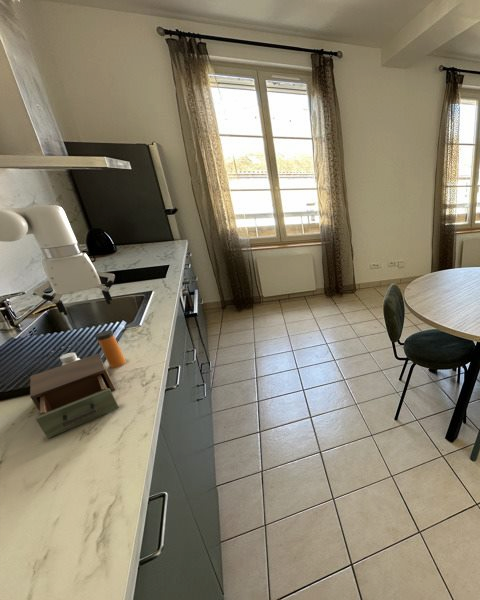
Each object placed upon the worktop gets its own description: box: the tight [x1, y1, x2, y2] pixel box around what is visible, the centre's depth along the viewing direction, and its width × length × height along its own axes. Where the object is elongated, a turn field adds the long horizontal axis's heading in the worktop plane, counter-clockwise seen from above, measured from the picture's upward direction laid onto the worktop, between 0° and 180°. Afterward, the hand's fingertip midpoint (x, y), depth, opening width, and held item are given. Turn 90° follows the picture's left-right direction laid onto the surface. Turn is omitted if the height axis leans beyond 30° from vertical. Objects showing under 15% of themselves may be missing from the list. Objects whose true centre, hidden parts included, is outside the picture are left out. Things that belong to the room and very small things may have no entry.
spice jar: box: [94, 329, 127, 369], centre depth 104 cm, size 4×4×12 cm
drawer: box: [35, 374, 120, 439], centre depth 83 cm, size 17×13×6 cm
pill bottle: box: [59, 352, 81, 366], centre depth 100 cm, size 4×4×8 cm
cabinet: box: [29, 353, 116, 413], centre depth 91 cm, size 14×15×8 cm
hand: (88, 308), depth 97 cm, fingers open, 9 cm apart
